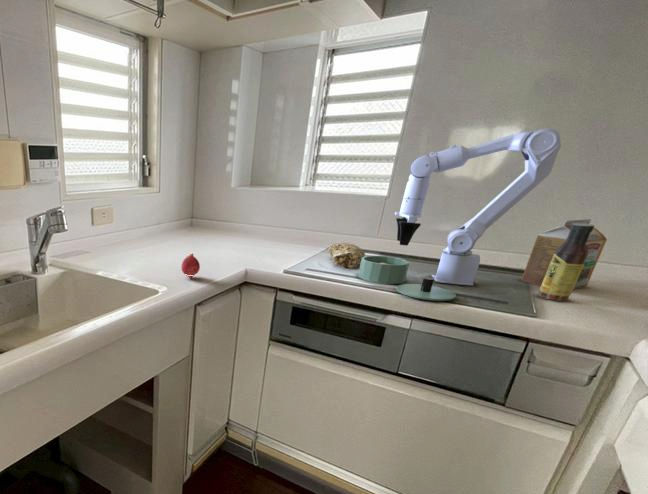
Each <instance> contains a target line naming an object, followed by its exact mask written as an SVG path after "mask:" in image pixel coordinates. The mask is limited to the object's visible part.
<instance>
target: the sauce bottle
mask: <svg viewBox="0 0 648 494" xmlns="http://www.w3.org/2000/svg"><path fill="white" fill-rule="evenodd" d="M593 228H595V224H582V223H574V224H572V225H571V227H570V232H569V235H568V237H567V239H566V241H565V242H564V243H563V244H562V245H561V246H560V247H559V248H558V249H557V251H556V252H555V253H554V255H553V257H552V260H551V262H550V265H549V267H548V269H547V272H546V274H545V277H544V280H543V282H542V285H540V287H539V291H538V296H539V297H541V299H544V300H548V301H557V302H565V301H568V300H569V298H570V296H572V293H573V291H574V290H575V289H574V286H575V284H576V282H577V280H578V277H579V275H580V273H581V270H582V268H583V266H584V262H585V260H586V257H587V255H588V248H587V246H586V242H587V241H588V240H587V239H588V237H589V235H590V233H591V232H592V231H593Z"/></svg>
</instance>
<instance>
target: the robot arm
mask: <svg viewBox="0 0 648 494" xmlns="http://www.w3.org/2000/svg"><path fill="white" fill-rule="evenodd" d="M561 141H562V140H561V135H560V133H559V131H558V130H557V129H555V128H551V127H545V128H541V129H536V130H531V131H524V132H518V133H513V134H510V135H506V136H503V137H499V138H497V139H493V140H490V141H486V142H484V143H480V144H477V145H475V146H471V147H466V146H465V145H464V146H463V145H461V144H460V145H456V144H453V145H450V146H449V148H446V149H443V150H440V151H437V152H434V151H431V152H429V155H422V156H420V157H417V158H416V159H415V160H414V161H413V162H412V163H411V166H410V172H411V173H410V175H409V176H408V181H407V182H406V186H405V189H404V193H403V197H402V202H401V206H400V208H399V209H400V210H399V211H394V215H395V216H399V217H396V218H395V220H396V224H397V234H396V240H397V241H399V246H408V245H409V244H410V242H411V240H412V238H413V236H414V234H415V233H416V232H417V230H418V229H419V228H420V227H421V225H422V224H421V223H420V222H419V223H418V222H417V221H418V218H421V217H422V211H423V208H424V205H425V201H426V197H427V194H428V190H429V187H430V178H431V174H433V172H434V173H436V174H439V173H442V172H446V171H449V170H453V169H456V168H460V167H463V166H465V165H466V163H467V162H468V161H470V159H471V160H472V159H475V158H479V157H483V156H487V155H492V154H496V153H499V152H502V151H509V152H521V154H522V156H523V158H524V171H523V172H522V173H521V174H520V175H519V176H518V177H516V178H515V179H513V181H512V182H511V183H510V184H509V185H507V186H506V187H505V188H504V189H503V190H502V191H500V193H499V194H497V196H495V197H494V198H493V199H492V200H491V201H490V202H489V203H488V204H487V205H486V206H484V207H483V208H482V209H481V210H480V211H479V212H477V213H476V214H475V215H474V216H473V217H472V218H471V219H469V220H468V221H466V222H465V223H464V224H463V225H462V226H460V227H458V228H456V229H453V230H452V231H450V232H449V233H448V235H447V237H446V243H447V247H445V248H443V249H442V252H441V256H440V259H439V263H438V267H437V269H436V274H431V278H433V279H434V282H435V283H440V284H449V285H450V284H451V285H459V286H460V285H461V286H470V287H471V286H474V282H475V279H476V276H477V273H478V270H479V266H480V262H481V256H480V254H476V253H473V251H472V249H473V248H474V247H475V246H476V243H477V241H478V240H479V239H480V238H481V237H482V236H483V235H484V233H485V232H486V231H487V229H489V228H490V227H491V226H493V224H495V223H496V222H497V221H498V220H499V219H500V218H501V217H502V216H504V215H505V214H506V213H508V211H509V210H511V209H512V208H513V207H515V205H516V204H518V202H520V201H521V200H522V199H524V197H525V196H527V195H528V194H529V193H530V192H531V191H533V190H534V189H535V188H536V187H537V186H538V185H539V184H541V183H542V182H543V181H544V180H545V179H546V178H547V177H548V176H549V175H551V173H552V170H553V168H554V164H555V162H556V159H557V157H558V154H559V152H560V150H561V148H562V142H561Z"/></svg>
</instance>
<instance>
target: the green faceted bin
mask: <svg viewBox="0 0 648 494" xmlns="http://www.w3.org/2000/svg"><path fill="white" fill-rule="evenodd" d="M380 263H387V264H380ZM409 267H410V262H409V260H406V259H404V258H400V257H395V256H389V255H388V256H387V255H365V256H364V257H362V259H361V264H359V269H358V274H357V275H358V278H359V279H361V280H363V281H365V282H370V283H375V284H381V285H382V284H383V285H401V284H403V283H405V281H406V278H407V275H408V271H409Z"/></svg>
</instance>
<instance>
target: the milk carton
mask: <svg viewBox="0 0 648 494" xmlns="http://www.w3.org/2000/svg"><path fill="white" fill-rule="evenodd" d="M591 221H592V219H591V218H584V219H568V220H567V219H566V220H564V222H563V225H560V226H557V227H553V228H551V229H548V230H544V231H543V232H541V233H539V234H537V236H536V239H535V242H534V244H533V247H532V249H531V252H530V255H529V257H528V260H527V264H526V266H525V269H524V271H523V274H522V277H521V279H520V281H521V282H525V283H530V284H533V285H537V286H541V285H542V282H543V280H544V277H545V274H546V272H547V269H548V267H549V265H550V262H551V260H552V257H553V255H554V253H555V252H556V251H557V249H558V248H559V247H560V246H561V245H562V244H563V243H564V242H565V241H566V239H567V237H568V235H569V232H570V227H571V225H572V224H574V223H582V224H590V223H591ZM587 240H588V241H587V242H586V246H587V248H588V255H587V257H586V260H585V262H584V266H583V268H582V270H581V273H580V275H579V277H578V280H577V282H576V284H575V286H574V289H573V290H575V289H582V288H587V286H588V284H589V282H590V279H591V277H592V275H593V273H594V270H595V268H596V266H597V263H598V261H599V259H600V257H601V254H602V252H603V249H604V248H605V245H606V243H607V241H608V239H607V237H606V236H605V234H604V233H602V232H601V231H600V230H599V229H598V228H596V227H594V228H593V231H592V232H591V233H590V235H589V237H588V239H587Z"/></svg>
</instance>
